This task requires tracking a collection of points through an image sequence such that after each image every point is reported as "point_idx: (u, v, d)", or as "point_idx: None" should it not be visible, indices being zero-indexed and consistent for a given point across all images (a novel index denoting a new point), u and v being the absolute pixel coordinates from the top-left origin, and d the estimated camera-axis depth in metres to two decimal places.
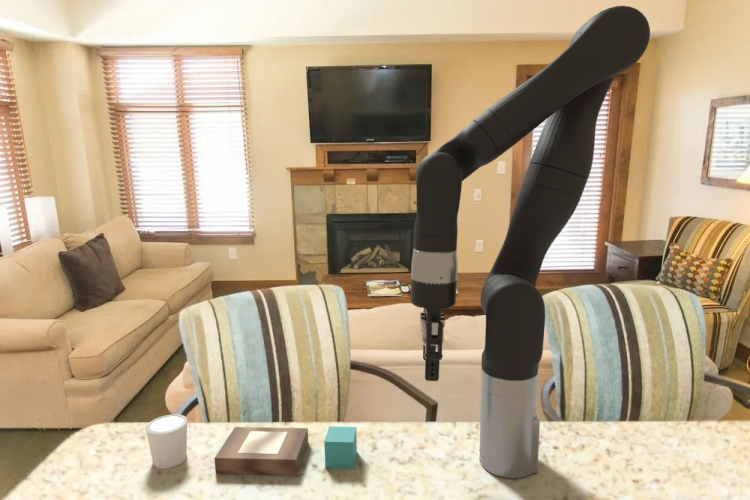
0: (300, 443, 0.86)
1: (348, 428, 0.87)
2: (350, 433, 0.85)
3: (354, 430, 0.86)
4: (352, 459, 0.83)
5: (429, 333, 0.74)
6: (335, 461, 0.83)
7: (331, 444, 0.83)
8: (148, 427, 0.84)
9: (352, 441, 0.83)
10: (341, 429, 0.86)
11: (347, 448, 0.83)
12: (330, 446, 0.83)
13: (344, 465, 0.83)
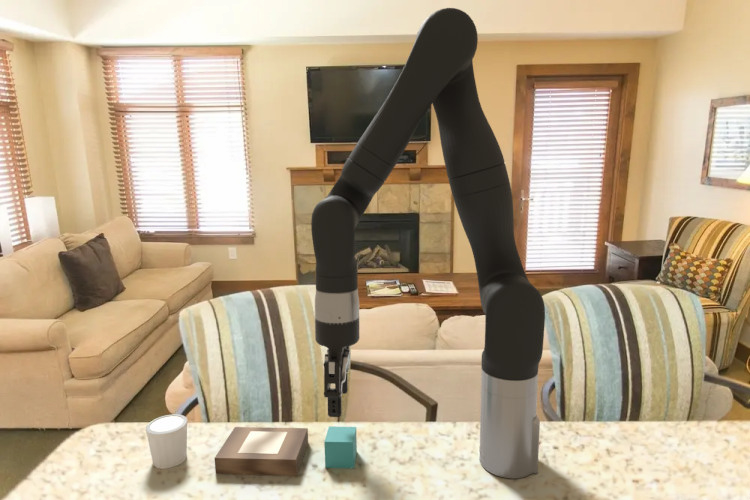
0: (300, 443, 0.86)
1: (347, 428, 0.87)
2: (350, 433, 0.85)
3: (354, 430, 0.86)
4: (352, 459, 0.83)
5: (326, 372, 0.76)
6: (335, 461, 0.83)
7: (331, 444, 0.83)
8: (148, 427, 0.84)
9: (352, 441, 0.83)
10: (341, 429, 0.86)
11: (347, 448, 0.83)
12: (330, 446, 0.83)
13: (344, 465, 0.83)
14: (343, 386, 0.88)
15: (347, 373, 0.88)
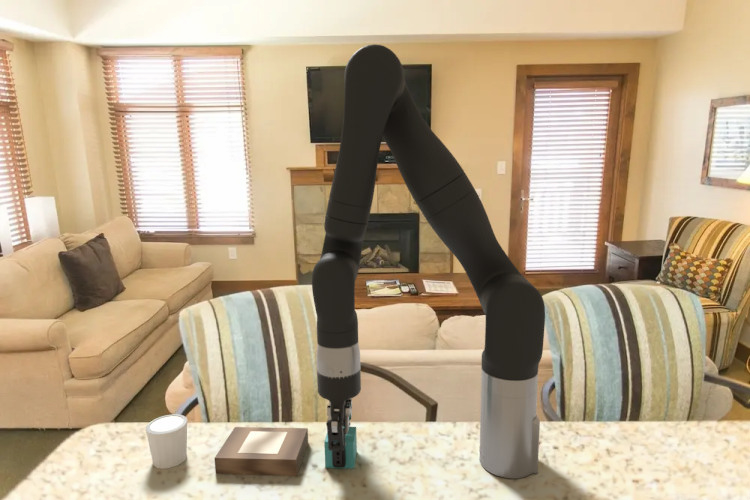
0: (300, 443, 0.86)
1: None
2: (350, 433, 0.85)
3: (354, 430, 0.86)
4: (352, 459, 0.83)
5: (329, 431, 0.78)
6: None
7: None
8: (148, 427, 0.84)
9: (352, 441, 0.83)
10: None
11: (347, 448, 0.83)
12: None
13: None
14: None
15: None
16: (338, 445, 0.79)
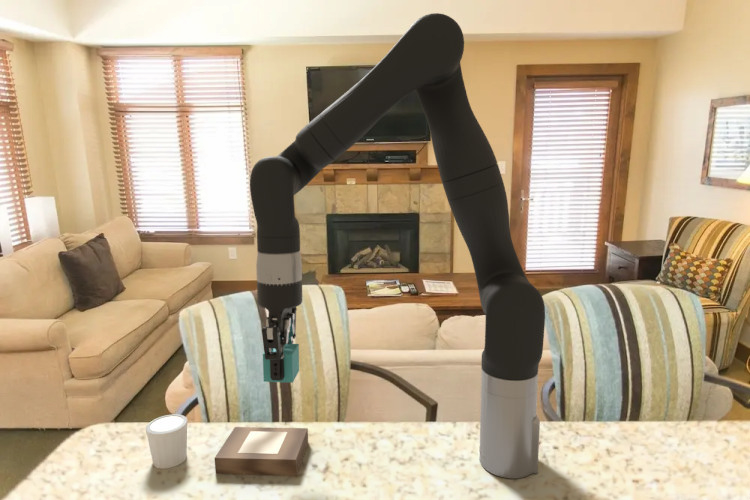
0: (300, 443, 0.86)
1: (289, 345, 0.85)
2: (290, 348, 0.83)
3: (296, 346, 0.84)
4: (291, 372, 0.81)
5: (265, 338, 0.76)
6: None
7: None
8: (148, 427, 0.84)
9: (291, 354, 0.81)
10: None
11: (286, 361, 0.81)
12: None
13: (283, 379, 0.81)
14: None
15: None
16: (274, 354, 0.78)
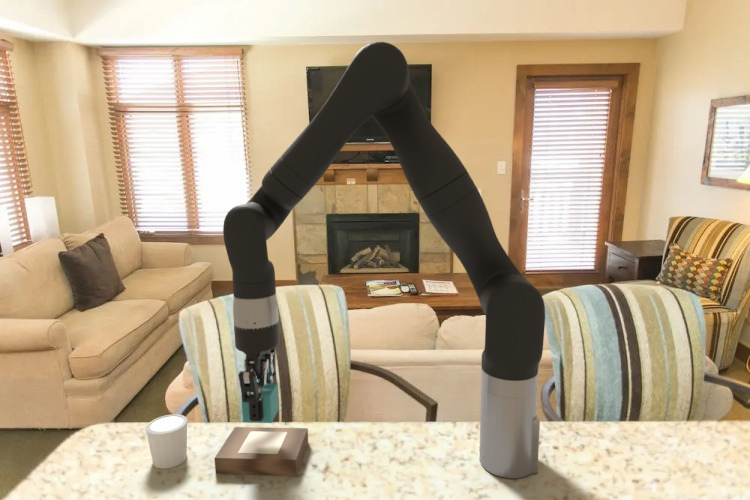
0: (300, 443, 0.86)
1: (268, 384, 0.86)
2: (269, 388, 0.85)
3: (274, 385, 0.86)
4: (269, 413, 0.82)
5: (242, 383, 0.78)
6: None
7: None
8: (148, 427, 0.84)
9: (269, 395, 0.82)
10: None
11: (264, 402, 0.82)
12: None
13: None
14: None
15: None
16: (252, 397, 0.79)
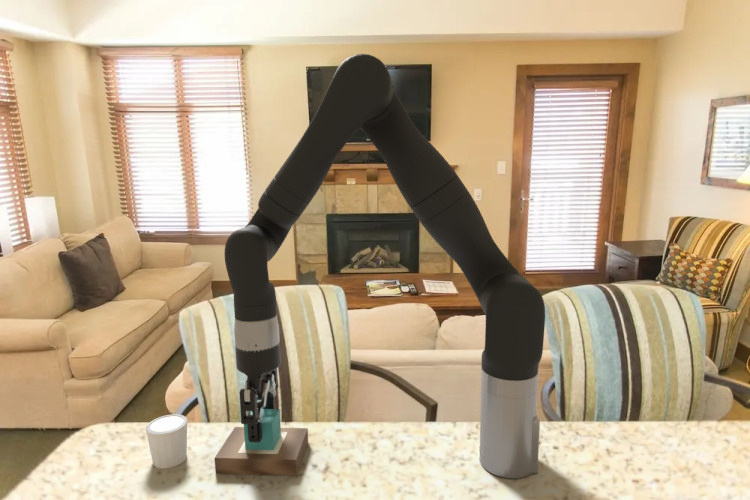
0: (300, 443, 0.86)
1: (270, 411, 0.87)
2: (271, 415, 0.85)
3: (276, 412, 0.87)
4: (271, 440, 0.83)
5: (242, 400, 0.78)
6: (254, 442, 0.84)
7: None
8: (148, 427, 0.84)
9: (271, 422, 0.83)
10: (264, 411, 0.87)
11: (266, 429, 0.83)
12: None
13: (264, 447, 0.84)
14: None
15: None
16: (251, 418, 0.78)
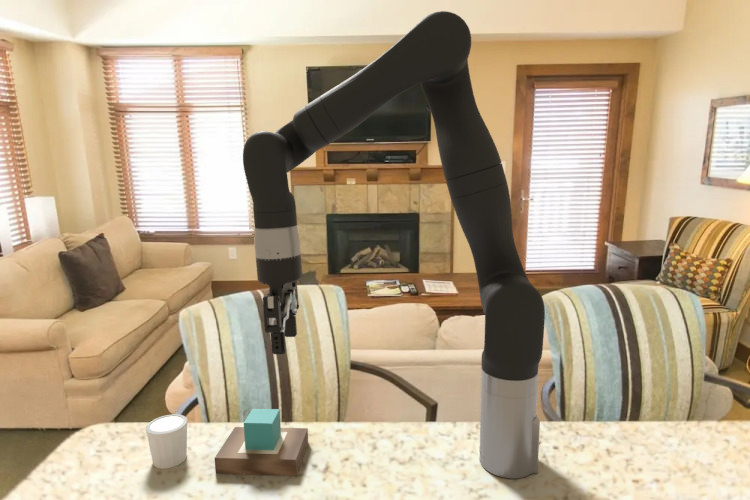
0: (300, 443, 0.86)
1: (270, 411, 0.87)
2: (271, 415, 0.85)
3: (276, 412, 0.87)
4: (271, 440, 0.83)
5: (265, 307, 0.76)
6: (254, 442, 0.84)
7: (250, 425, 0.83)
8: (148, 427, 0.84)
9: (271, 422, 0.83)
10: (264, 411, 0.87)
11: (266, 429, 0.83)
12: (250, 427, 0.83)
13: (264, 447, 0.84)
14: (292, 329, 0.88)
15: (295, 316, 0.88)
16: (274, 326, 0.76)
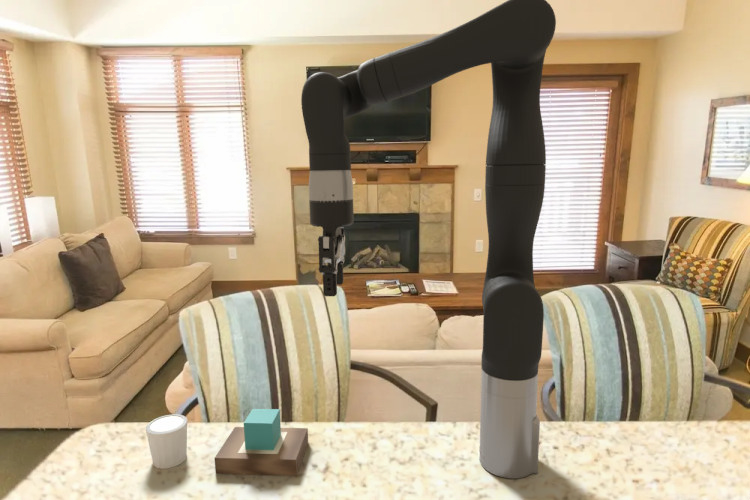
0: (300, 443, 0.86)
1: (270, 411, 0.87)
2: (271, 415, 0.85)
3: (276, 412, 0.87)
4: (271, 440, 0.83)
5: (321, 246, 0.77)
6: (254, 442, 0.84)
7: (250, 425, 0.83)
8: (148, 427, 0.84)
9: (271, 422, 0.83)
10: (264, 411, 0.87)
11: (266, 429, 0.83)
12: (250, 427, 0.83)
13: (264, 447, 0.84)
14: (339, 277, 0.89)
15: (342, 264, 0.89)
16: (329, 266, 0.77)
